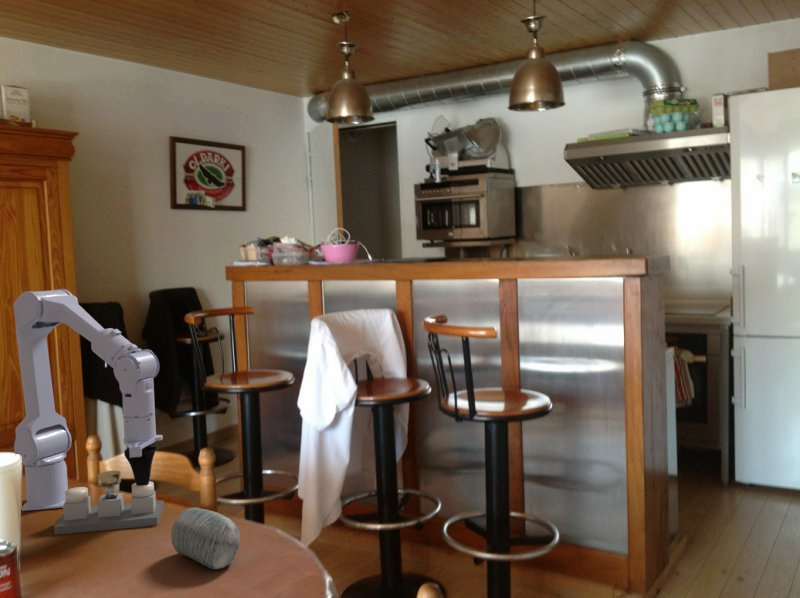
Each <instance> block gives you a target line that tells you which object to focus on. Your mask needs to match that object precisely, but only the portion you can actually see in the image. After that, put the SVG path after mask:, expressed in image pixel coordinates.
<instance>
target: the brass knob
mask: <svg viewBox="0 0 800 598" xmlns="http://www.w3.org/2000/svg"><path fill="white" fill-rule="evenodd" d="M97 482H98V483H97V485H98V486H99V487H104V488H105V495H106V500H109V499H115V494H116V493H115V486H116V485H119V484H121V482H122V478H121V471H120V470H119V471H118V470H109V471H107V470H106V471H103V472H100V473H98V474H97Z"/></svg>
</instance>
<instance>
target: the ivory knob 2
mask: <svg viewBox="0 0 800 598" xmlns="http://www.w3.org/2000/svg"><path fill="white" fill-rule="evenodd" d="M154 484H155V482H153V481H151V480H149V484H148V485H142V486H137V485H136V482H135V483H134V482H133V484H131V497H132V496H134V497H145V496H149V495H152V494H153V493H154V491H155V485H154Z"/></svg>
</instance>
